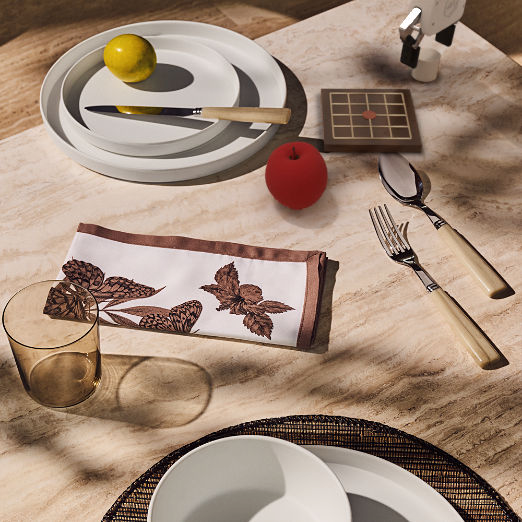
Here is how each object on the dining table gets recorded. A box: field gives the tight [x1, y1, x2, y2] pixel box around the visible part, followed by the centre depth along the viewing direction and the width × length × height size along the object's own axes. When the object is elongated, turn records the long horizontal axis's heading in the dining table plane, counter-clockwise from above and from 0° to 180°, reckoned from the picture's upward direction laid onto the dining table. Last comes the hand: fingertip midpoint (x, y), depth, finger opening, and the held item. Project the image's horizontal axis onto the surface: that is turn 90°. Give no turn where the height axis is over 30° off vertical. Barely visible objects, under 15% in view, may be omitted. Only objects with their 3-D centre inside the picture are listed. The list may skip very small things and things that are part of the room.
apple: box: [264, 141, 329, 211], centre depth 96 cm, size 9×9×10 cm
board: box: [320, 88, 423, 153], centre depth 110 cm, size 15×15×2 cm
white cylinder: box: [411, 47, 442, 83], centre depth 119 cm, size 4×4×4 cm
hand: (425, 54), depth 117 cm, fingers open, 9 cm apart
